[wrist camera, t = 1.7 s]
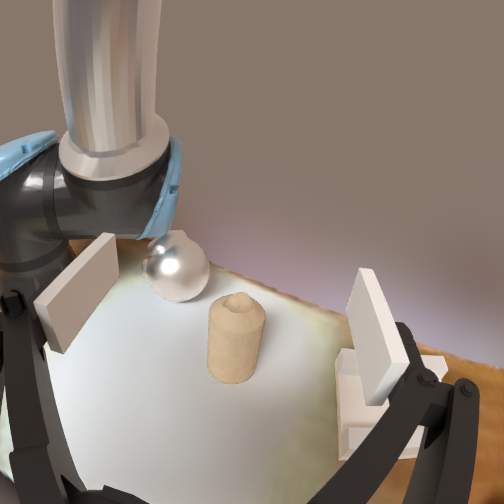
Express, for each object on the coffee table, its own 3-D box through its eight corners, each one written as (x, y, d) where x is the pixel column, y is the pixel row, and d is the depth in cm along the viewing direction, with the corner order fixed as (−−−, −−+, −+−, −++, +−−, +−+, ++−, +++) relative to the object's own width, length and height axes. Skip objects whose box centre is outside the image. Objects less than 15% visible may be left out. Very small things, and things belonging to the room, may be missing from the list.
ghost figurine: (185, 268, 51) (186, 211, 45) (220, 300, 45) (226, 238, 40) (135, 286, 45) (129, 226, 40) (166, 324, 39) (162, 259, 34)
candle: (220, 342, 38) (225, 277, 33) (261, 358, 37) (275, 294, 31) (198, 372, 34) (199, 308, 28) (243, 391, 32) (255, 329, 27)
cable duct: (338, 460, 25) (349, 449, 24) (334, 363, 37) (341, 347, 35) (454, 452, 25) (469, 440, 23) (433, 370, 36) (443, 356, 35)
